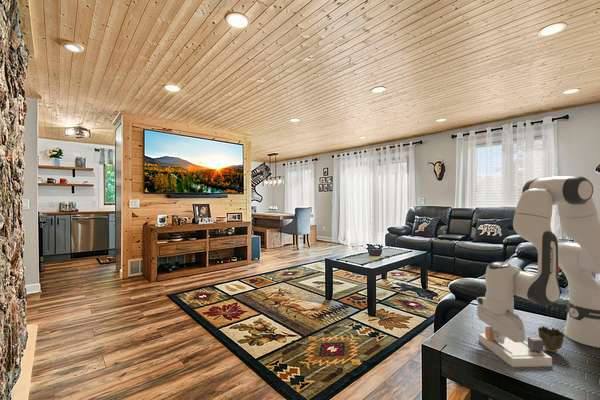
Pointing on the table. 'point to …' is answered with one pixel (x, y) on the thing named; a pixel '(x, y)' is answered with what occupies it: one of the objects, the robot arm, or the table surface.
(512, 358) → the mixer console
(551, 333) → the cup
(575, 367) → the table surface
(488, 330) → the fader
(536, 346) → the fader
